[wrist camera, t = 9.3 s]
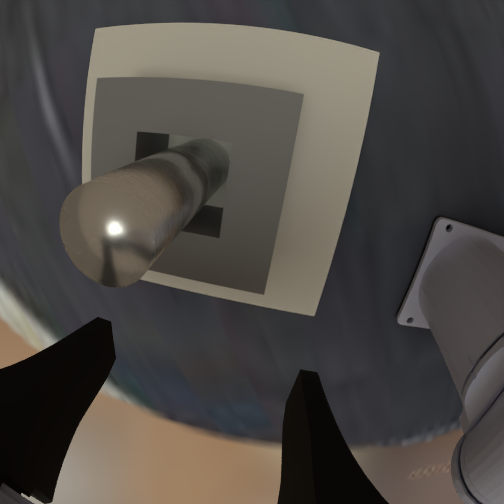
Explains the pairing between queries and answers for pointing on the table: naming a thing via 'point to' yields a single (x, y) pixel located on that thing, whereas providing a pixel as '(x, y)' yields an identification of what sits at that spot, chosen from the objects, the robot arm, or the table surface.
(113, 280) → the steel pin
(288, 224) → the socket block on plate
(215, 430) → the table surface
